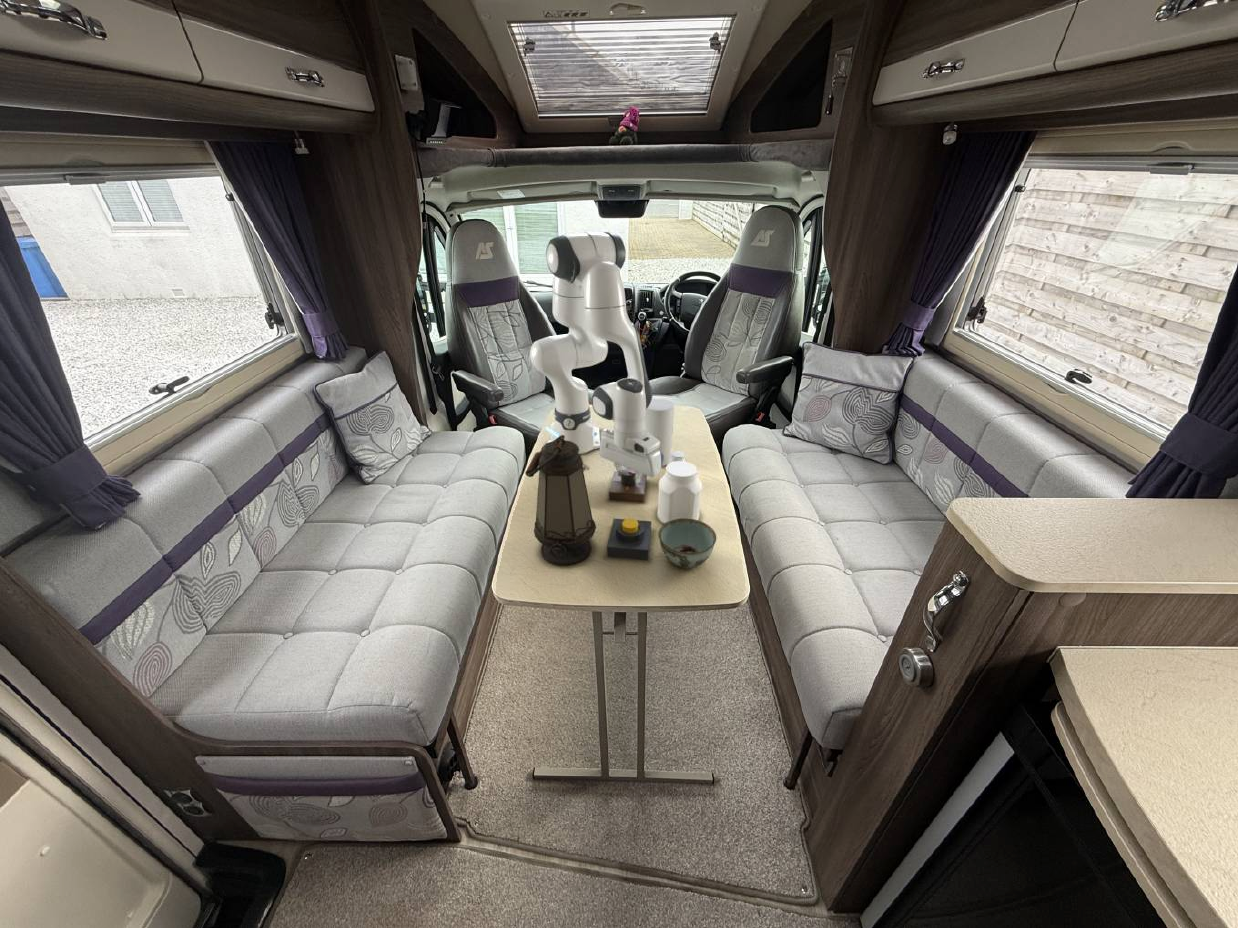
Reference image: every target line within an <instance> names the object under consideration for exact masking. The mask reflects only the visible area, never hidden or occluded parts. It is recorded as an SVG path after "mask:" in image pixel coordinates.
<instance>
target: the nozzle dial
mask: <svg viewBox="0 0 1238 928" xmlns="http://www.w3.org/2000/svg"><path fill="white" fill-rule="evenodd" d="M634 476H636V471H634V470H632V469H629V468H627V467H625V468H623V470H622V471H621V483H622V484H623V485H625V486H632V485H634V484H635V483H634V482H633V477H634Z"/></svg>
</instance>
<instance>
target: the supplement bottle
mask: <svg viewBox="0 0 1238 928" xmlns="http://www.w3.org/2000/svg"><path fill="white" fill-rule="evenodd" d="M675 461H685V462H687V461H686V459H685V452H683V451H682V450H673V451H671V458H670V459H669V462H668V464H669V463H671V462H675ZM668 464H667V465H668Z"/></svg>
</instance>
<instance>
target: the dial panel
mask: <svg viewBox="0 0 1238 928" xmlns="http://www.w3.org/2000/svg"><path fill="white" fill-rule="evenodd" d="M636 475H637V474H636ZM647 478H648V476H647V475H644V474H642V476H641V477H640V482H639V483H638V484H637V483H635V484H634V485H632V486H625V485H623V484H622V483H621V477H620V476H618V475H617V470H616V471H615V470H614V471H613V475H612V480H611V483H610V487H609V490H608V500H609V501H611V502H625V503H639V504H644V502H645V495H646V489H647V488H646V487H647Z"/></svg>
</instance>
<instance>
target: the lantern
mask: <svg viewBox="0 0 1238 928" xmlns="http://www.w3.org/2000/svg"><path fill="white" fill-rule="evenodd" d="M564 438H565V436H564V435H561V436H559V437H558V438H557V439H555V440H554V441H552V442H549V443H548V442H547V443H545V444H544V445H543V446H542V447H541V448H540V451H537V452H535V453H534V455H533V457H532V459H531V461H530V463H529V464H528V467H527V468H526V470H525V472H524V474H525V476H527V477H528V478H532V477H534V476H535V475H536V473H538V482H537V483H538V485H537V499H536V510H535V511H536V512H535V522H534V529H533V534H534V537H535V538H536V540H537V541H538V542H539V543H540V544H541V545H540V551H539V552H540V555H541V557H542V559H543V560H544V561H545V562H546V563H548V564H550V565H553V566H557V567H570V566H575V565H578V564H580V563H582V562H584V561H585V560H587V559H588V557H590V556H591V553H592V549H593V547H592V544H591V541H590V540H591V539H592V538H593V537H594V535H595V533H596V529H597V525H596V522H595V520H594V518H593V515H592V509H591V504H590V503H591V502H590V498H589V493H588V488H587V484H586V478H585V472H583V467H582V466H583V462H584V460H583V457H582V455H581V454H579V453H578V452H579V447H578V446H577V445H576V444H575V443H573V442H571V441H566V440H564Z"/></svg>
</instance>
